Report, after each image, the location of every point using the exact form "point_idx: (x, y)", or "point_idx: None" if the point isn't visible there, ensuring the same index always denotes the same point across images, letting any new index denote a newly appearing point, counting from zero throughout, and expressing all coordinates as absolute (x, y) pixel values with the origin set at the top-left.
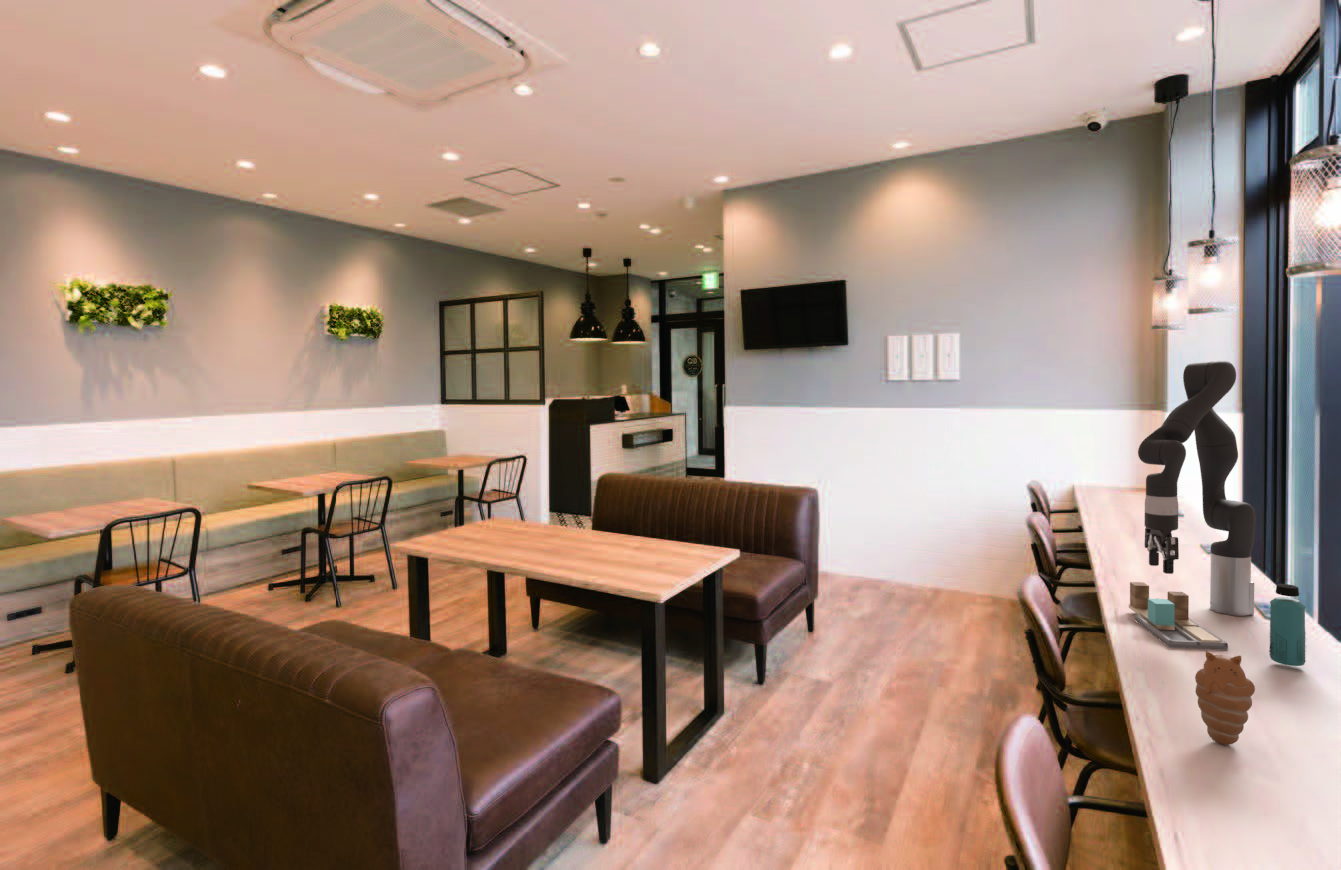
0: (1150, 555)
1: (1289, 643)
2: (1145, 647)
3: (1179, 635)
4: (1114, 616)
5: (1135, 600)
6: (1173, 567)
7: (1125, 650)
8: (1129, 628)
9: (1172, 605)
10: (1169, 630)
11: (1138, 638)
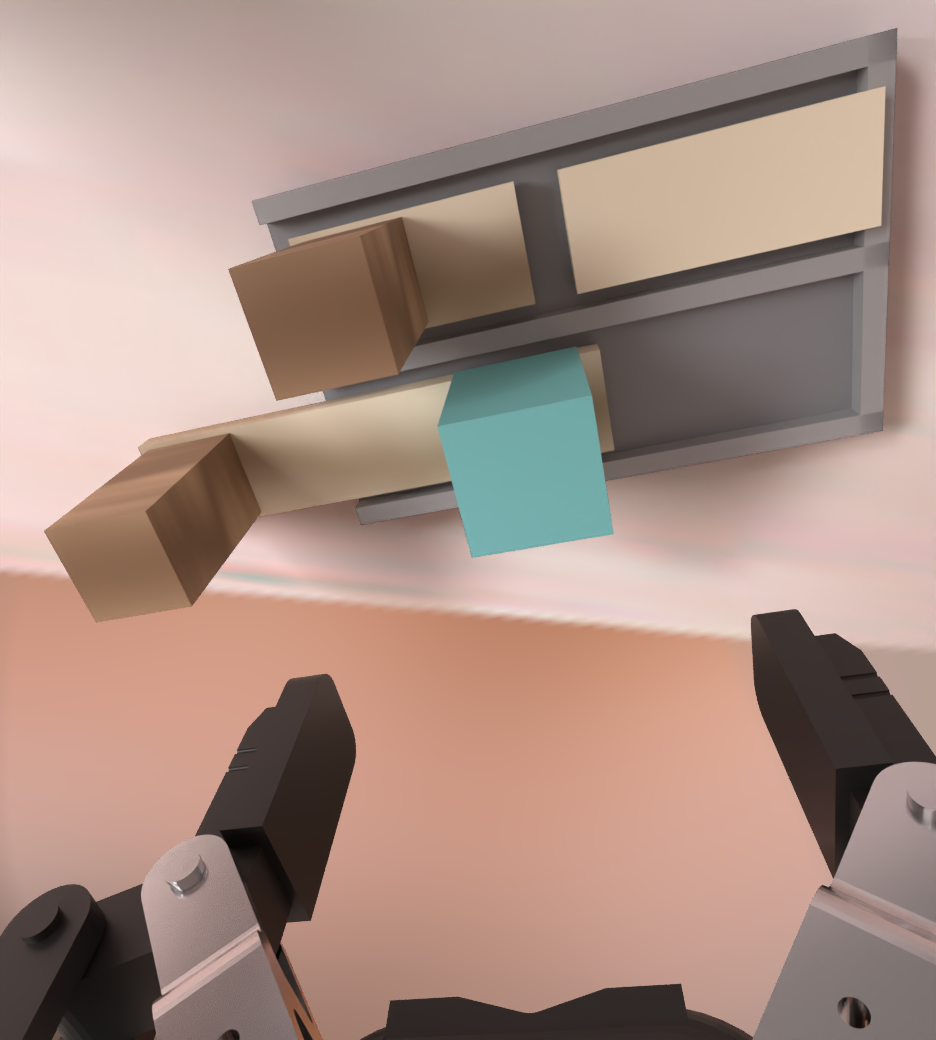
0: (319, 870)
1: None
2: (869, 535)
3: (685, 330)
4: (333, 590)
5: (240, 539)
6: (830, 663)
7: (930, 629)
8: (538, 555)
9: (593, 407)
10: None
11: (714, 541)
